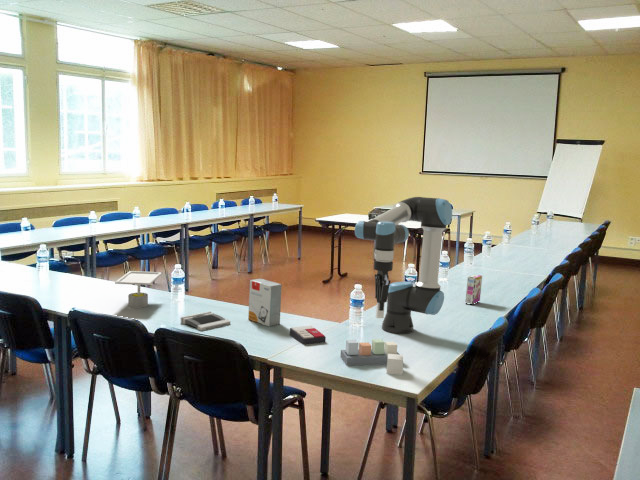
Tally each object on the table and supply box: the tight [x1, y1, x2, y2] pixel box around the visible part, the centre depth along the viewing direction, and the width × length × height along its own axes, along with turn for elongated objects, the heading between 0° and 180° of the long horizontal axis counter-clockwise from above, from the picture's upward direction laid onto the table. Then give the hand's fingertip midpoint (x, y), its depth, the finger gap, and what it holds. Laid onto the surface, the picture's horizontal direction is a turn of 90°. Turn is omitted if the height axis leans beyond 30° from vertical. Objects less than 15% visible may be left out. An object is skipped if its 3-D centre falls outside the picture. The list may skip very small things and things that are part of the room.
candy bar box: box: [465, 274, 483, 304], centre depth 353 cm, size 11×5×16 cm, turn 144°
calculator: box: [289, 325, 327, 346], centre depth 271 cm, size 11×4×15 cm
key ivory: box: [384, 341, 398, 355], centre depth 247 cm, size 4×4×5 cm
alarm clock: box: [180, 311, 231, 332], centre depth 286 cm, size 17×5×16 cm
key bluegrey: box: [345, 339, 359, 355], centre depth 244 cm, size 4×4×5 cm
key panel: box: [340, 348, 401, 366], centre depth 246 cm, size 23×10×3 cm, turn 102°
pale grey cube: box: [386, 354, 404, 376], centre depth 235 cm, size 6×6×6 cm
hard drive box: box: [247, 278, 283, 327], centre depth 293 cm, size 16×8×20 cm, turn 47°
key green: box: [371, 338, 386, 354], centre depth 246 cm, size 4×4×5 cm
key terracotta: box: [358, 342, 372, 355], centre depth 245 cm, size 4×4×5 cm
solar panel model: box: [114, 270, 163, 309], centre depth 313 cm, size 28×17×15 cm, turn 2°
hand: (379, 317), depth 244 cm, fingers closed
